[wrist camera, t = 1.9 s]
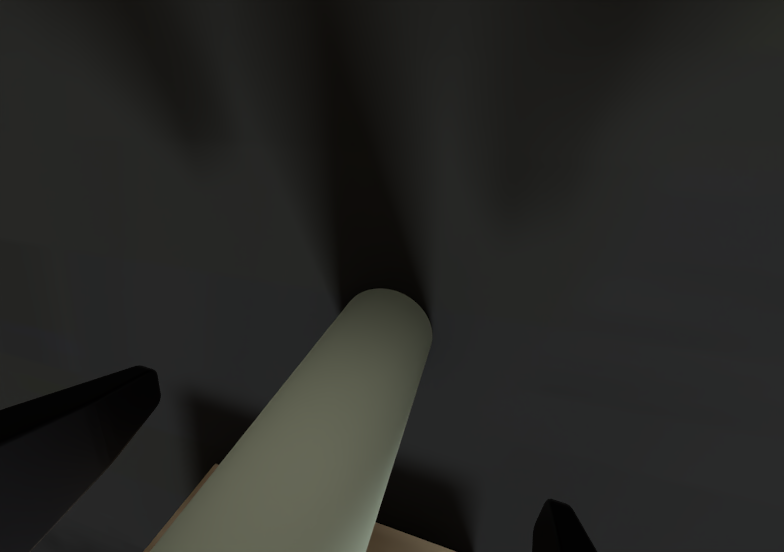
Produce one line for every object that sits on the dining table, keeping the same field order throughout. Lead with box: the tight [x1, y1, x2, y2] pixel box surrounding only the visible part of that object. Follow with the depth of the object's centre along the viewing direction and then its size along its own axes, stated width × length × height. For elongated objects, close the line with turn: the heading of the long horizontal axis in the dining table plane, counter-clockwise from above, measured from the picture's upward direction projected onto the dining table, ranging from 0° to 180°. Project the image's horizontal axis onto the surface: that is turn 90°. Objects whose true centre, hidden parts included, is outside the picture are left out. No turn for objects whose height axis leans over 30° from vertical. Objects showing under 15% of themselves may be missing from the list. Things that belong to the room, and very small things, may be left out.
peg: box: [150, 288, 432, 552], centre depth 8 cm, size 3×3×9 cm
